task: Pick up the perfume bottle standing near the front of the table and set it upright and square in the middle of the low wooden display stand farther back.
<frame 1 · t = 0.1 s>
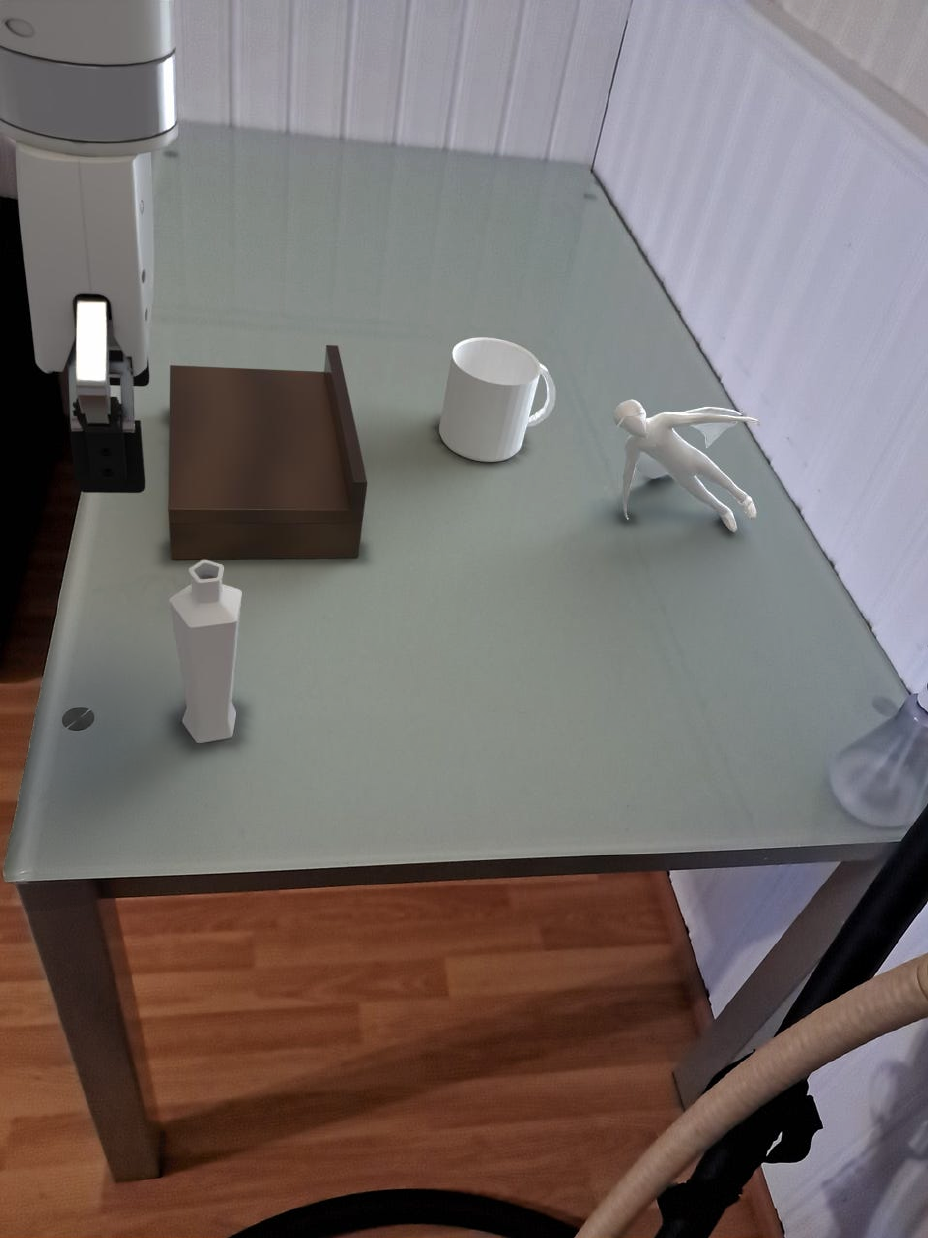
hand: (116, 432, 51), 25 cm above the table, tool pointing down, fingers open, 9 cm apart
wooden display stand: (259, 481, 91), on the table
figurine: (654, 506, 100), on the table
perfume bottle: (212, 725, 70), on the table
mug: (493, 440, 103), on the table
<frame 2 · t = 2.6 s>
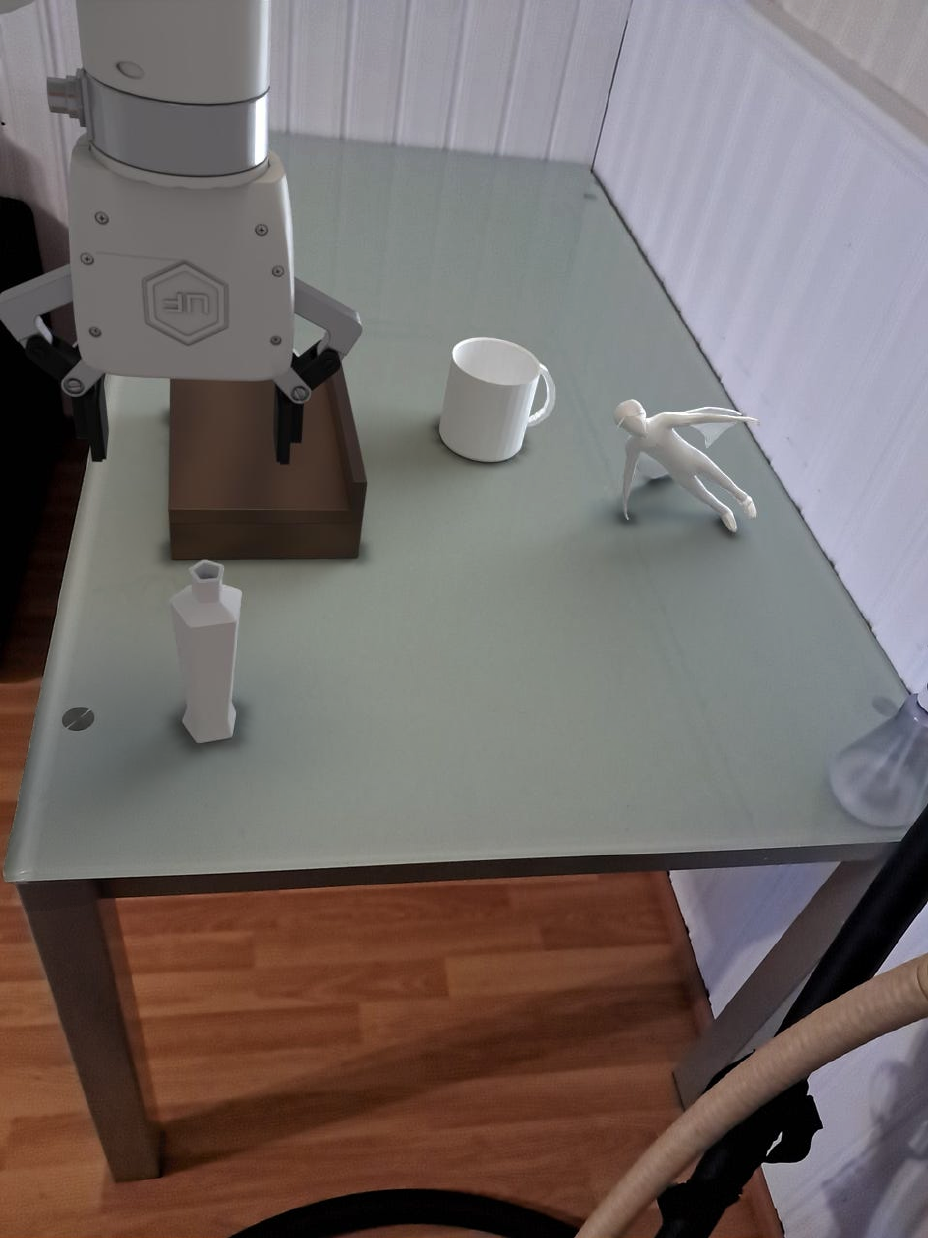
hand: (193, 448, 53), 24 cm above the table, tool pointing down, fingers open, 9 cm apart
nothing on the table moved.
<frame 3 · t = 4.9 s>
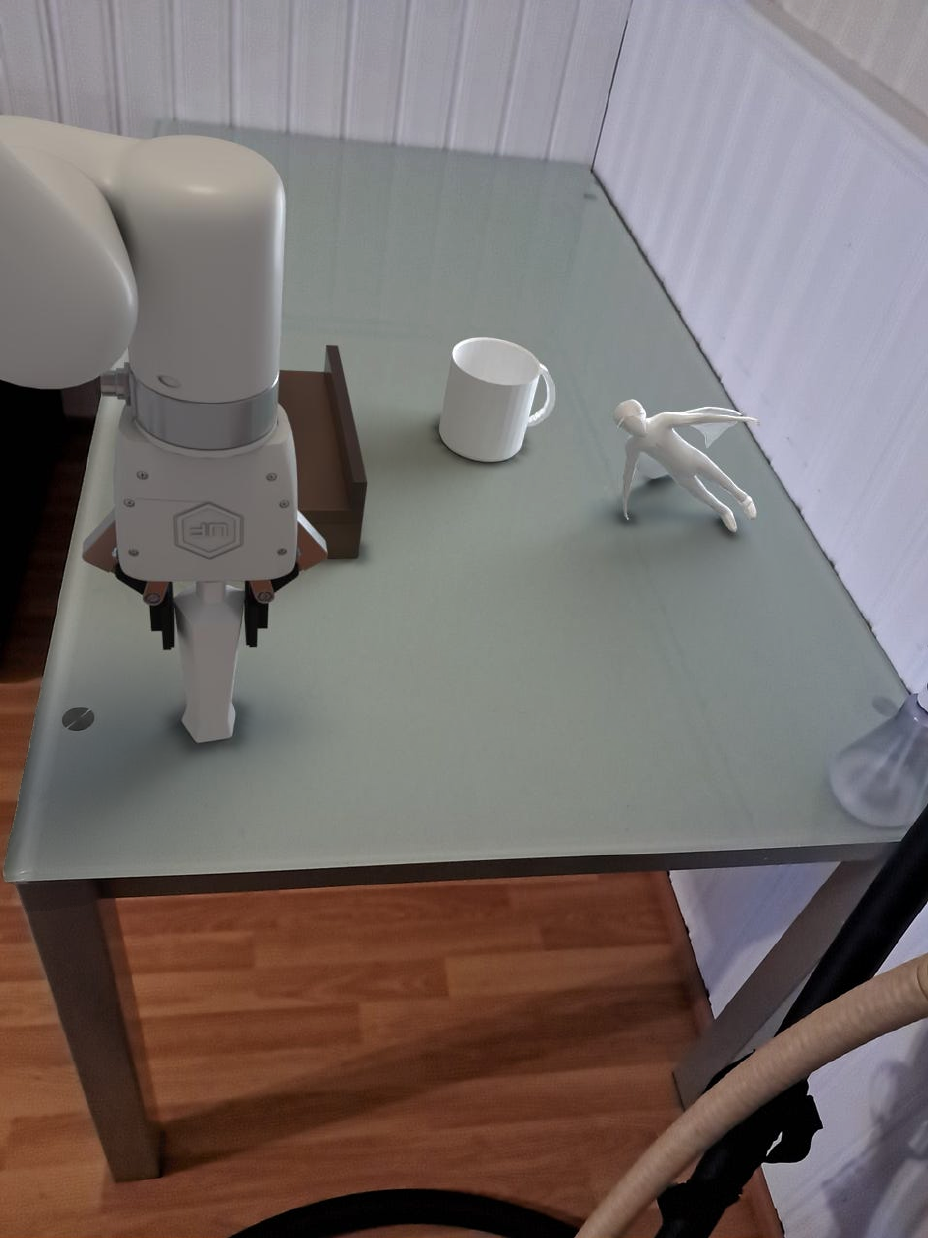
hand: (210, 631, 63), 10 cm above the table, tool pointing down, fingers closed on perfume bottle, 4 cm apart
perfume bottle: (212, 725, 70), on the table, touching gripper
everything else where it was.
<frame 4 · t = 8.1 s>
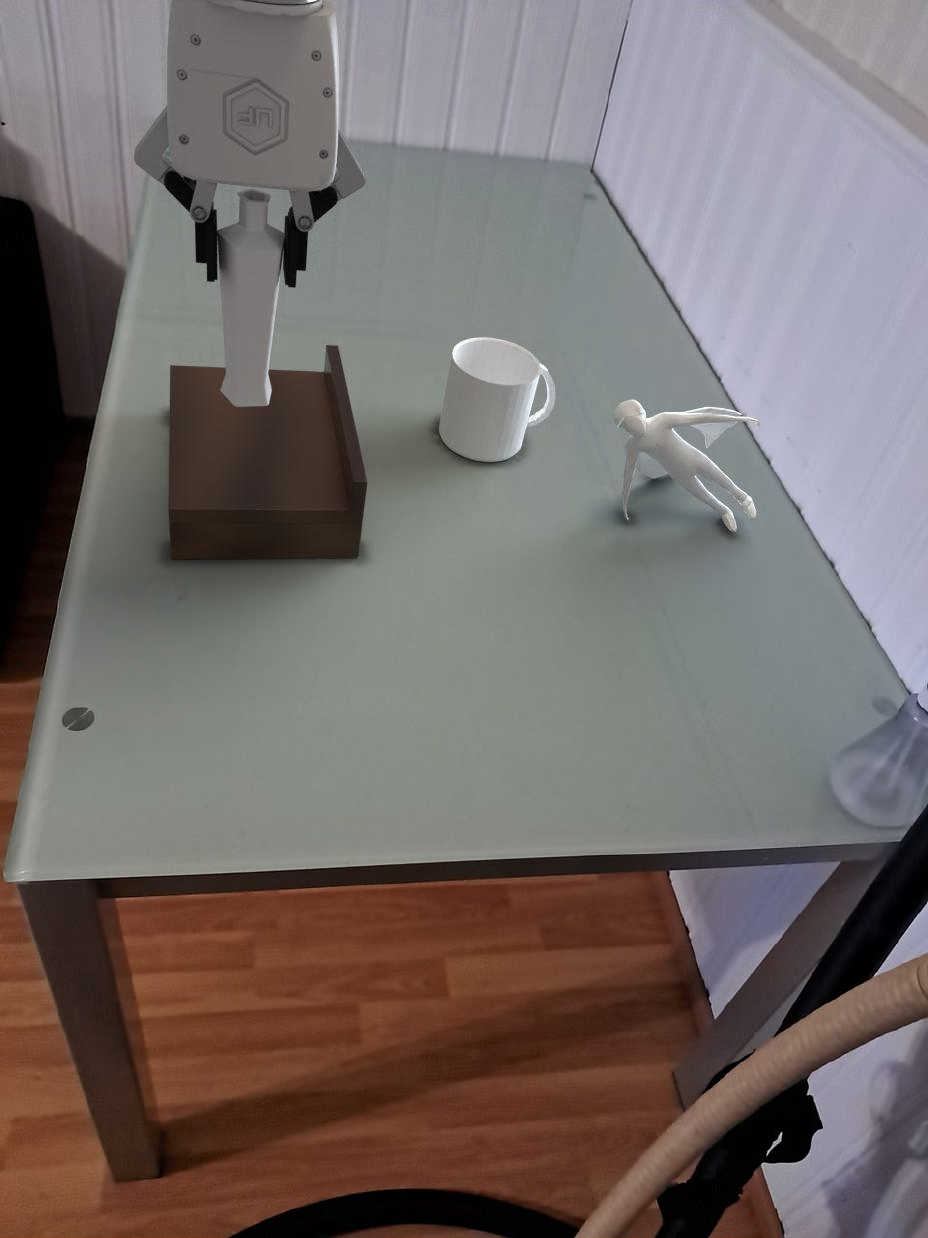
hand: (251, 272, 66), 26 cm above the table, tool pointing down, fingers closed on perfume bottle, 4 cm apart
perfume bottle: (249, 397, 73), point 16 cm above the table, touching gripper
everything else where it was.
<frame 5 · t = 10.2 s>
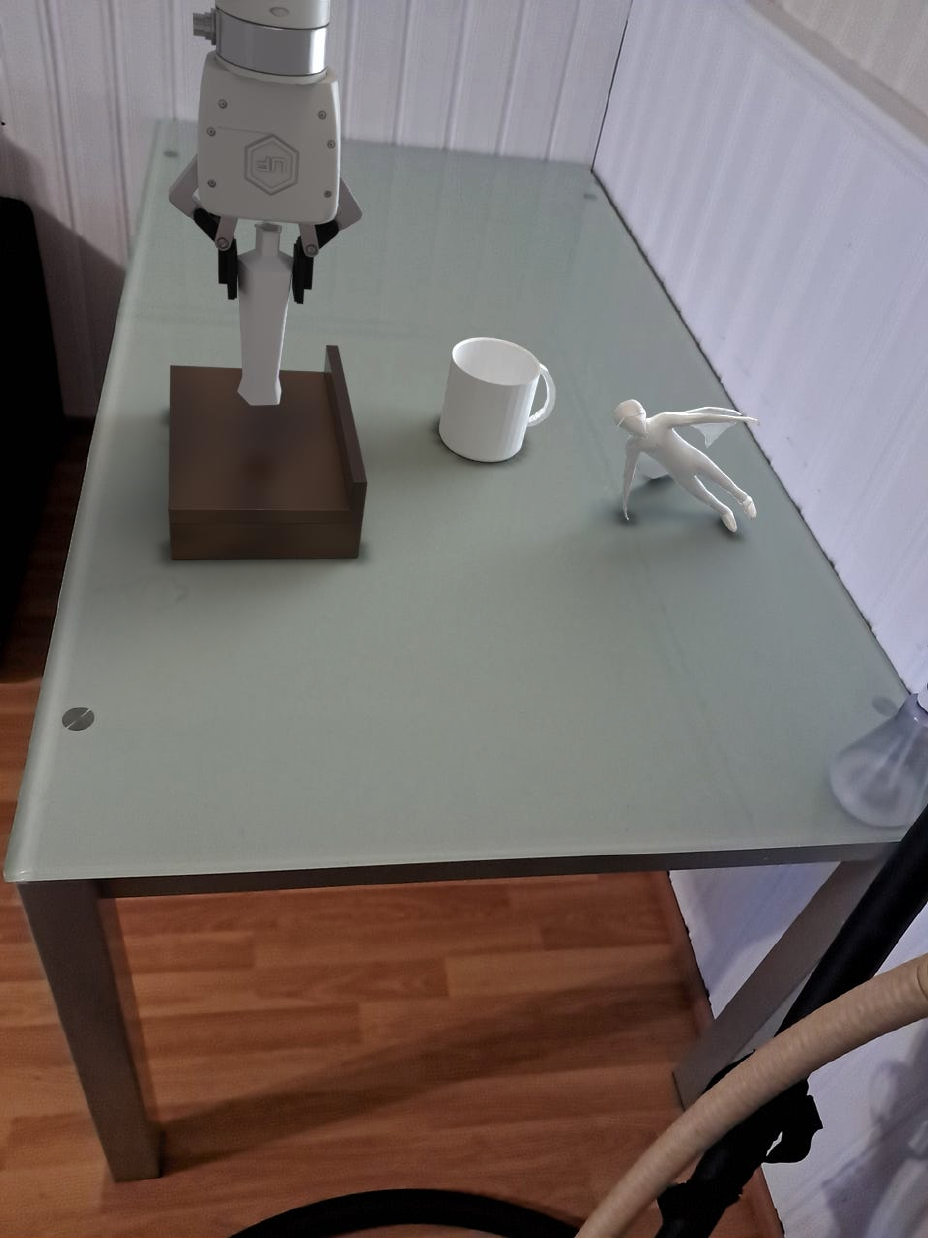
hand: (265, 291, 78), 19 cm above the table, tool pointing down, fingers closed on perfume bottle, 4 cm apart
perfume bottle: (262, 397, 85), point 9 cm above the table, touching gripper
everything else where it was.
when the fingers open (15 cm above the table, at t = 11.6 s): perfume bottle stays where it is, resting on wooden display stand.
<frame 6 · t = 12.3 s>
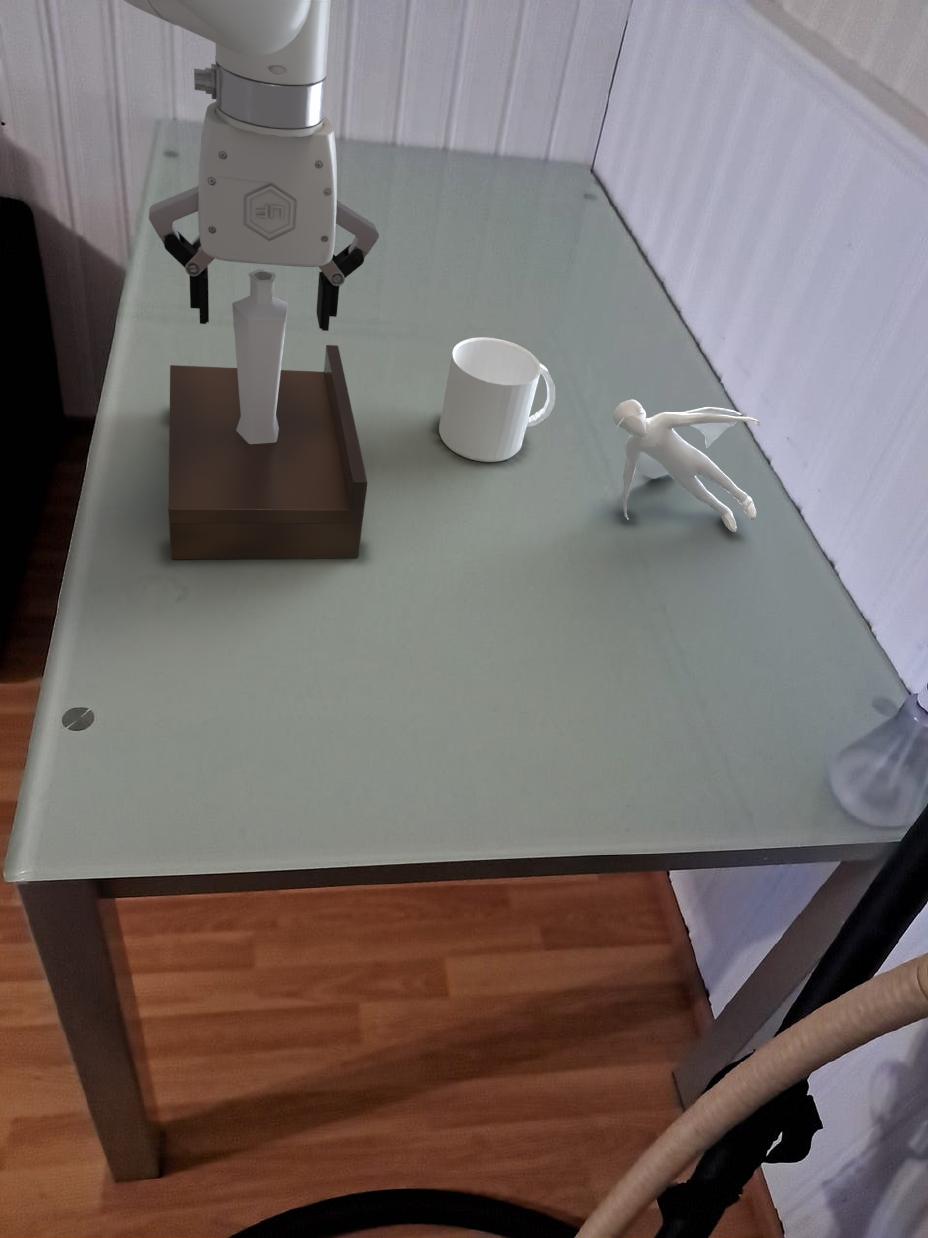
hand: (264, 319, 79), 17 cm above the table, tool pointing down, fingers open, 9 cm apart
perfume bottle: (260, 435, 87), point 5 cm above the table, touching wooden display stand
everything else where it was.
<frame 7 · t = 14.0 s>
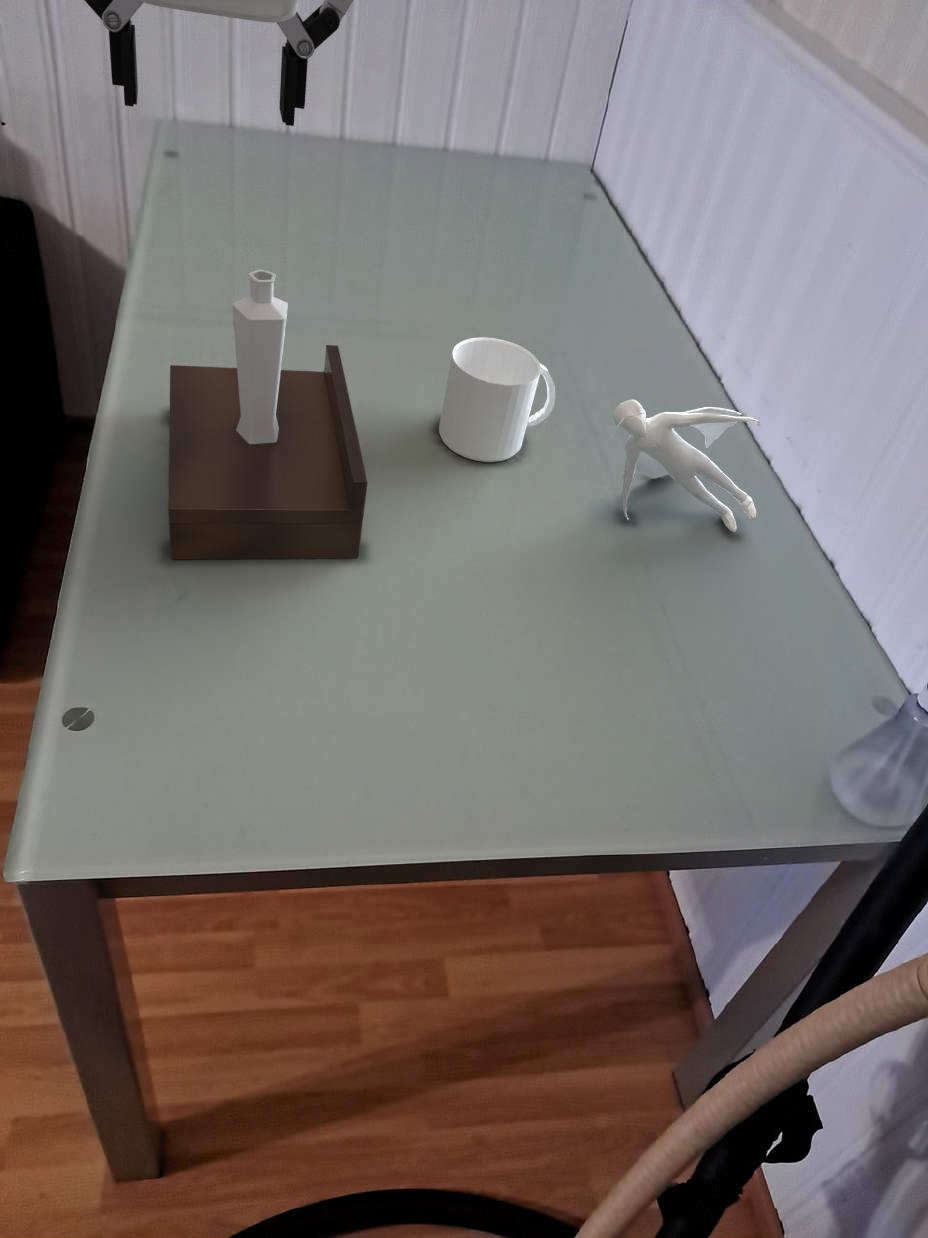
hand: (210, 108, 61), 35 cm above the table, tool pointing down, fingers open, 9 cm apart
nothing on the table moved.
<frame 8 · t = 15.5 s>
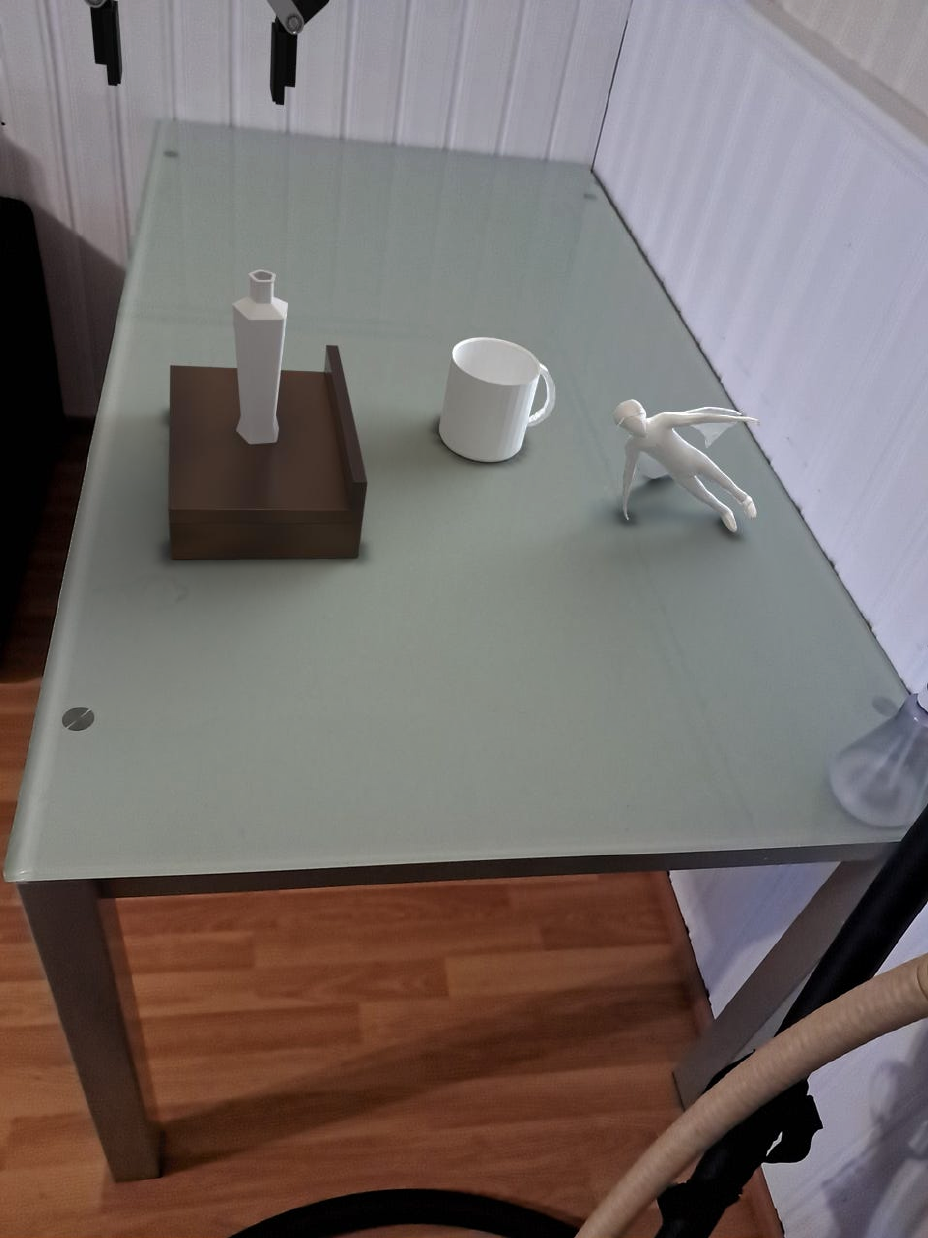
hand: (197, 88, 59), 36 cm above the table, tool pointing down, fingers open, 9 cm apart
nothing on the table moved.
at the end: perfume bottle inside the target area on the wooden display stand (0.1 cm from its centre), point 5.3 cm above the wooden display stand's base; perfume bottle tilted 0°; the gripper is holding nothing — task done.
